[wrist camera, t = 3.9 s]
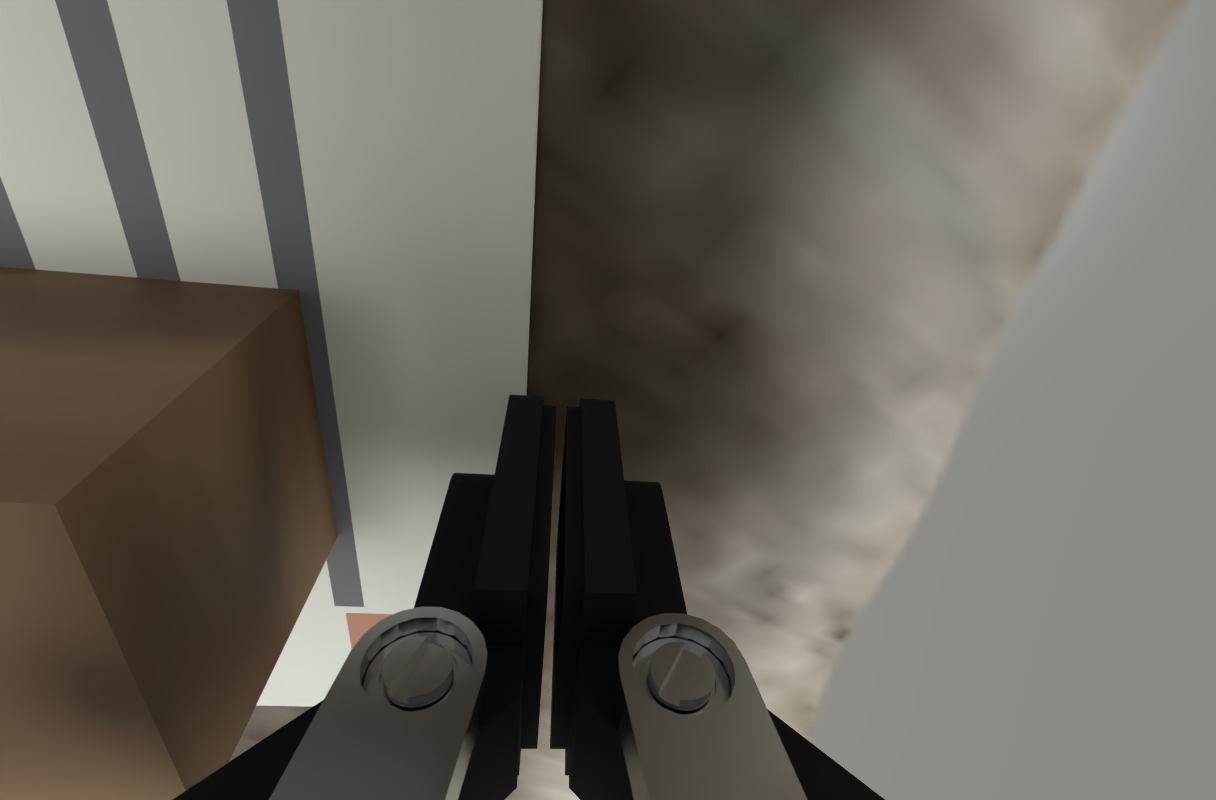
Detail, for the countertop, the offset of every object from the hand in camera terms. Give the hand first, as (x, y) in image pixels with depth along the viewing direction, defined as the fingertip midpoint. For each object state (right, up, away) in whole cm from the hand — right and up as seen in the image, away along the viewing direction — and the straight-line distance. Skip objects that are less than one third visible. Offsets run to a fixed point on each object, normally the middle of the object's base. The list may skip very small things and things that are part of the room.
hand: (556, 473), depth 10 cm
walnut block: (-7, +1, 0) cm, 7 cm away
